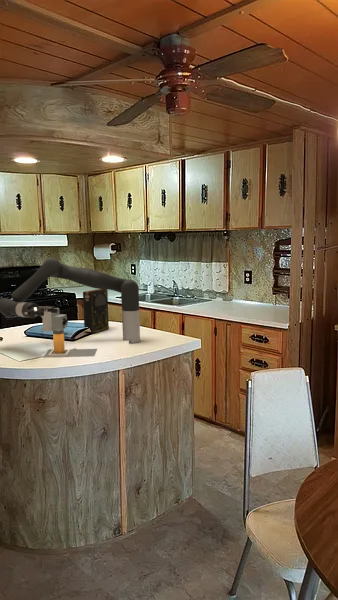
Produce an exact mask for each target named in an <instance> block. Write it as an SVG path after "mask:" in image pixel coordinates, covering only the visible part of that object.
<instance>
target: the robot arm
mask: <svg viewBox="0 0 338 600" xmlns="http://www.w3.org/2000/svg"><path fill="white" fill-rule="evenodd" d="M49 278H57V279H61V280H62V279H64V280H68V281H71V282H73V283H76V284H79V285H82V286H86V287H89V288H93V289H107V291H109V290H110V291H113V292H118V293H119V294H121V295H120V299H121V315H122V317H121V318H122V319H121V320H122V322H121V324H122V326H121V327H122V341H124V342H125V341H127V342H128V343H129V344H135V343H141V325H140V324H141V323H140V295H139V292H140V291H139V284H138V282H137V281H136V280H134V279H133V280H132V279H127V278H121V277H116V276H113V275H110V274H108V273H105V272H102V271H98V270H95V269H91V268H87V267H86V268H85V267H77V266H75V267H74V266H71V265H67V264H65V263H62V262H61V261H59V259H57V258H55V257H54V258H53V257H51V258H47V259H46V260H45V261H44V262H43V263H42V264H41V265H40V266H39V268H38V269H37V270H36V272H34V274H33V275H31V276H30V277H29V278H28V279H27V280H26V281H25V282H23V283H22V284H21V285H19V287H17V288H16V289H15V290H14V291H13V292H11V295H10V296H11V298H12V299H13V300H12V299H9V298H6V297H4V298H2V297H1V298H0V313H1V314H2V316H3V317H6V318H10V317H13V316H15V317H16V316H17V317H21V318H29V319H35V318H37V317H38V316H39V317H41V316H44V314H47V313H57V312H58V311H57V308H58V307H55V306H49V305H45V306H39V305H38V304H37V303H36V302H27V299H29V297H31V296H32V295H33V294H34V292H36V290H37V289H38V288H39V287H40V286H41V284H43V283H44V282H45V281H47V280H48V279H49ZM44 310H45V311H46V312H44Z"/></svg>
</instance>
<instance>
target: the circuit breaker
mask: <svg viewBox="0 0 338 600" xmlns="http://www.w3.org/2000/svg"><path fill="white" fill-rule="evenodd" d="M56 308H57V311H58V312H57V313H47V314H44V316H40V318H42V327H41V332H42V331H53V330H54V329H66V328H67V327H68V323H69V320H68V317H67V316H68V315H67V314H63V313H62V314H61V313H60V308H59V307H56ZM44 312H46V311H45V310H44Z"/></svg>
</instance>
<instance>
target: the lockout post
mask: <svg viewBox="0 0 338 600" xmlns="http://www.w3.org/2000/svg"><path fill="white" fill-rule="evenodd" d="M64 329H65V328H64ZM64 329H54V330H53V336H52V338H53V340H52V341H53V350H54V354H65V349H66V348H65V334H64V333H65V332H64V331H65V330H64Z"/></svg>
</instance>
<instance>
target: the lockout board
mask: <svg viewBox="0 0 338 600" xmlns="http://www.w3.org/2000/svg"><path fill="white" fill-rule="evenodd" d="M97 352H98V348H77V347H76V348H75V347H74V348H70V349H66V348H65V354H54V348H50V349H48V351H47V352H46V353H45V354H44V355H43V356H42V358H43V359H45V358H48V359H49V358H80V357H86V358H87V357H95V355H96V353H97Z"/></svg>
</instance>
